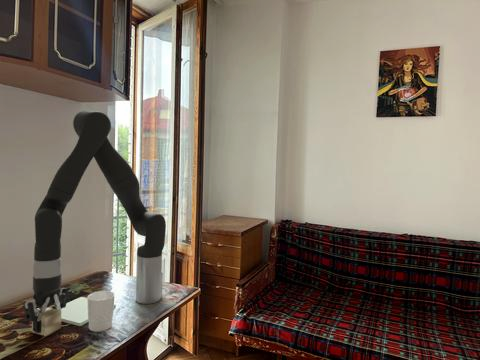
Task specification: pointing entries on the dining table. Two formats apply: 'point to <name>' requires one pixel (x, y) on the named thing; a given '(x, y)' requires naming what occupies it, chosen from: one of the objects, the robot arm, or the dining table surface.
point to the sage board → (76, 312)
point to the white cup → (100, 310)
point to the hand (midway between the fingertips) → (46, 327)
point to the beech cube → (49, 321)
